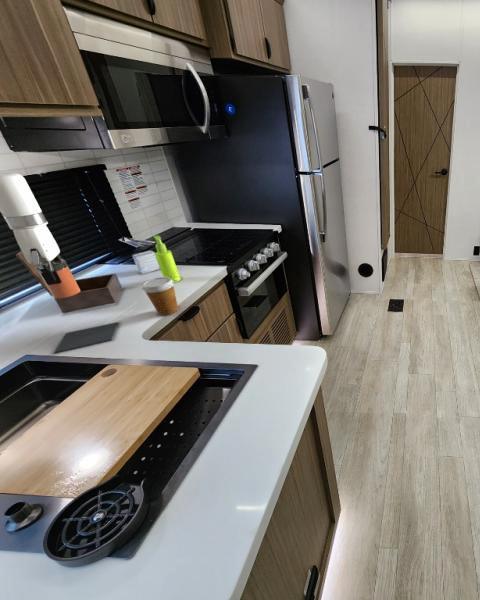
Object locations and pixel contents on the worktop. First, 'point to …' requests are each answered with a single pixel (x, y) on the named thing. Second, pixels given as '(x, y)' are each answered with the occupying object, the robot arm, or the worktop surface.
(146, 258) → the medicine box
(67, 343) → the mat
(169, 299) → the disposable coffee cup
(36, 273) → the chest lid
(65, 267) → the jar
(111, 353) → the worktop surface
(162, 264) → the soap dispenser
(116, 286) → the chest
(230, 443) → the worktop surface
